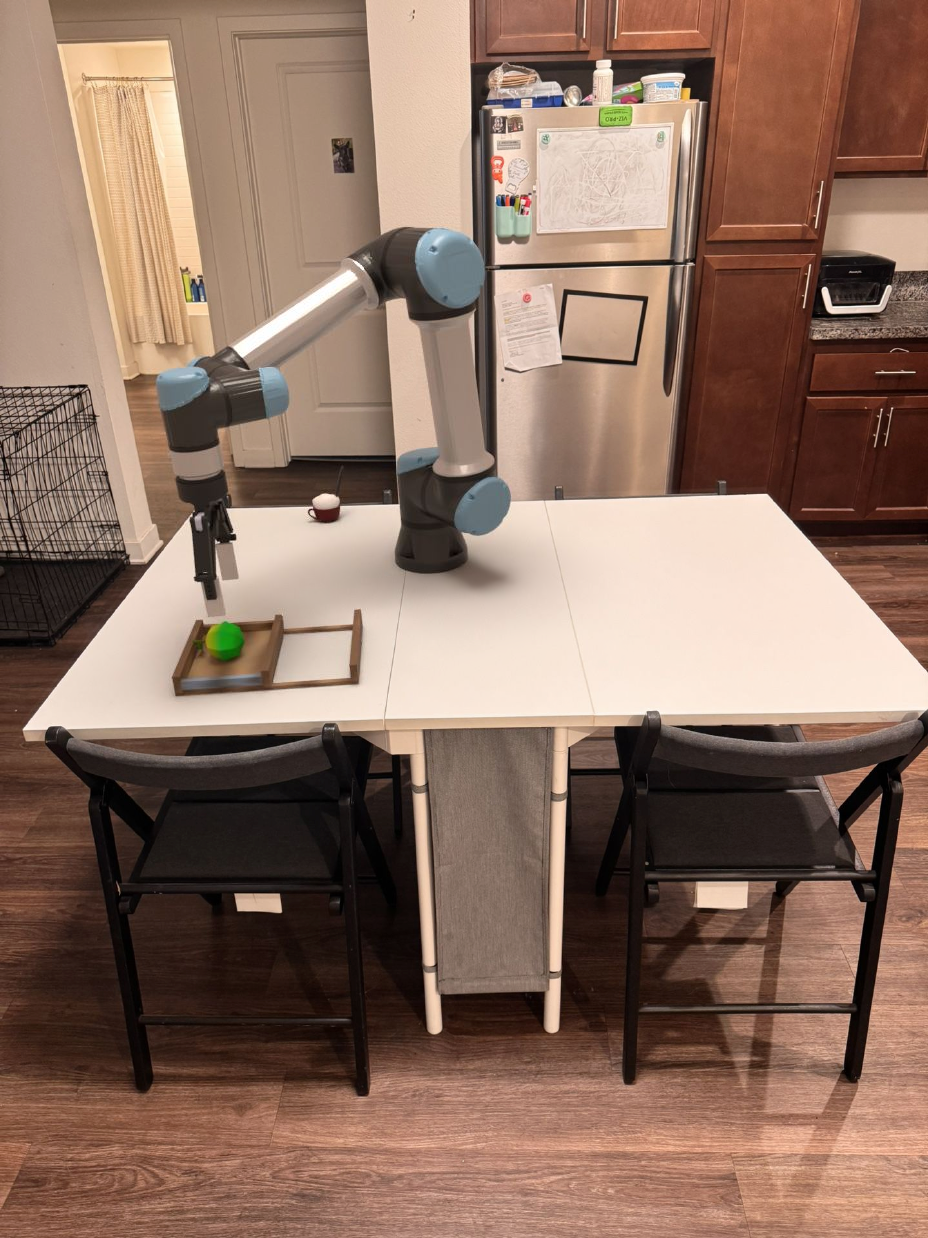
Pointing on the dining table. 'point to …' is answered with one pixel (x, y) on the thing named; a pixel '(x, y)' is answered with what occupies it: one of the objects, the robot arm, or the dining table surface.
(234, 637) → the apple
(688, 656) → the dining table surface
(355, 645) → the frame
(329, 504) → the cocoa
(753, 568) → the dining table surface
